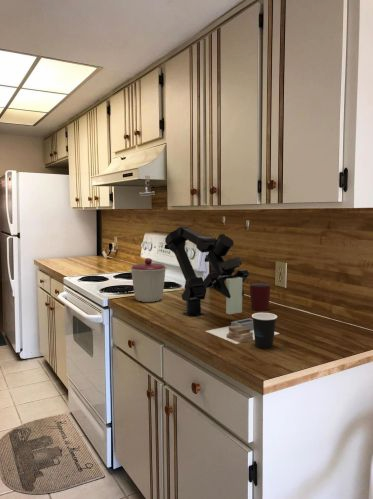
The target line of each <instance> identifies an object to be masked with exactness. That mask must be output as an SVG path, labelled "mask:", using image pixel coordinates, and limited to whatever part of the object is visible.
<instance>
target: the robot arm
mask: <svg viewBox="0 0 373 499" xmlns="http://www.w3.org/2000/svg"><path fill="white" fill-rule="evenodd" d="M164 240H165V244H166V246H167V248H168V250H170V251H171V252H172V253H173V254H174V255H175V258H176V260H177V263H178V265H179V268H180V271H181V273H182V276H183V277H184V280H185V283H184V290H183V293H182V294H181V299H182V301H183V302H186V310H185V311H183V314H185V315H186V316H190V317H196V316H200V315H204V314H205V313H204V312H203V311H202V304H201V301H202V300H205V299H206V294H207V289H208V288H211V289H214V290H215V291H217V292H219V293H220V294H221V295H223V296H225V298H226V297H228V298H230V297H231V296H230V293H229V291H228V289H227V287H226V284H225V283H226V279H229V278H237V277H240V278H242V297H244V296H245V291H244V286H243V284H244V282H245V281H246V279H248V277H249V276H250V273H249V271H248V269H237V268H239V267H241V266H242V264H243V263H242V260H241V258H240V257H239V256H237V257H235V258H230V259H227V260H226V259H225V258H224V257H225V256H227V255H228V253H229V252H230V251H231V249H233V248H232V247H233V246H234V245H235V244H234V240H233V239H231V237H229V236H227V235H225V234H224V233H220V234H219V235H218V237H217V239H216V238H215V237H213V236H206V235H202V234H200V233H199V232H196V231H195V230H194V229H191V228H190V227H189V226H179V227H177V228H176V230H173V231H171V232H169V234H167V235H166V236H165V239H164ZM187 241H189V242H191V243H192V244H194V245H195V246H196V249H197V250H198V251H199V252H200V253H207V255H205V257H204V263H209V265H210V267H211V268H212V269H211V273H208V274H207V275H206V276H205V278H204V279H203V277H202V276H197V275H196V271H195V269H194V267H193V265H192V263H191V261H190V258H189V256H188V254H187V250H186V245H187V244H186V243H187ZM235 269H237V271H236V273H235V274H233V273H234V272H235Z"/></svg>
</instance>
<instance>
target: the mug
mask: <svg viewBox="0 0 373 499" xmlns="http://www.w3.org/2000/svg"><path fill="white" fill-rule="evenodd" d="M270 295H271V284H269V283H262V282H254V283H253V282H252V283H250V285H249V296H250V304H251V310H253V311H256V312H257V311H258V312H260V311H261V312H265V311H268V310H269V307H270Z"/></svg>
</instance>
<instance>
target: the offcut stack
mask: <svg viewBox="0 0 373 499" xmlns="http://www.w3.org/2000/svg"><path fill="white" fill-rule="evenodd" d="M230 326H231V325H230ZM227 338H229V339H232V340H234V341H237V342H239V343H238V344H241V343H246V341H247V342H251V341H254V340H253V332H250V329H248V328H246V327H243V326H241V325H237V326H231V327H229V334H227ZM250 340H251V341H250Z"/></svg>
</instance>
